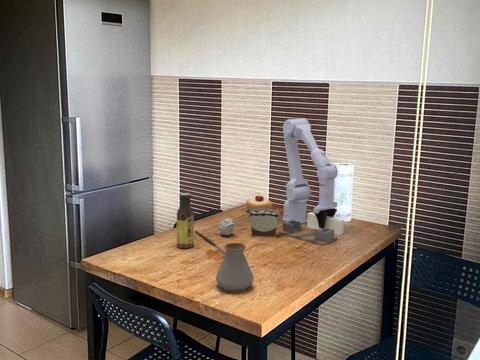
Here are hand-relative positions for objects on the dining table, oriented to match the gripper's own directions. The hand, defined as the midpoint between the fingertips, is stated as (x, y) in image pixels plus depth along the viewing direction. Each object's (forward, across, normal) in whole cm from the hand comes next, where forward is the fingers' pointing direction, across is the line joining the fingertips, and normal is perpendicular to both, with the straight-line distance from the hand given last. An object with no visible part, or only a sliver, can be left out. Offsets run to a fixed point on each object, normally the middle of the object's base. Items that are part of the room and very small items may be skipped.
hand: (324, 226), depth 218 cm
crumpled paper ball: (+2, -33, +24) cm, 41 cm away
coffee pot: (+2, -68, -8) cm, 69 cm away
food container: (+2, -22, +14) cm, 26 cm away
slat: (+2, 0, 0) cm, 2 cm away
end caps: (+1, -12, 0) cm, 12 cm away
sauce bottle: (+2, -53, +26) cm, 59 cm away
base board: (+1, -12, 0) cm, 12 cm away
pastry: (+2, +3, +38) cm, 38 cm away
